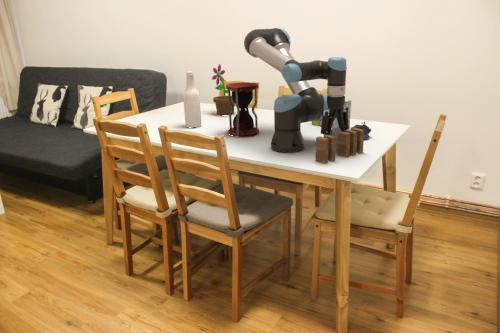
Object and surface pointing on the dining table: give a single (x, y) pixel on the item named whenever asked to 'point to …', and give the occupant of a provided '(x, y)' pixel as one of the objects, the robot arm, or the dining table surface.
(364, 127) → the frog
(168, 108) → the dining table surface
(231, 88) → the hourglass
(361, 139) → the domino
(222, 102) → the flowerpot
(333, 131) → the domino
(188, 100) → the alcohol
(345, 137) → the domino
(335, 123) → the snack box
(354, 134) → the domino
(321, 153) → the domino
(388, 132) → the dining table surface
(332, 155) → the domino
